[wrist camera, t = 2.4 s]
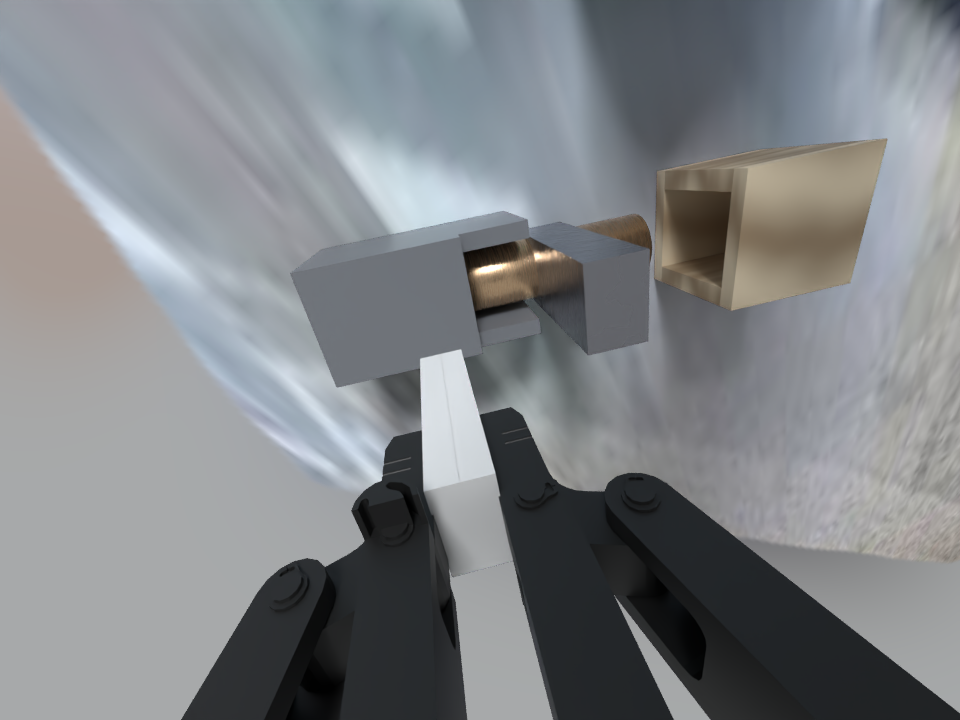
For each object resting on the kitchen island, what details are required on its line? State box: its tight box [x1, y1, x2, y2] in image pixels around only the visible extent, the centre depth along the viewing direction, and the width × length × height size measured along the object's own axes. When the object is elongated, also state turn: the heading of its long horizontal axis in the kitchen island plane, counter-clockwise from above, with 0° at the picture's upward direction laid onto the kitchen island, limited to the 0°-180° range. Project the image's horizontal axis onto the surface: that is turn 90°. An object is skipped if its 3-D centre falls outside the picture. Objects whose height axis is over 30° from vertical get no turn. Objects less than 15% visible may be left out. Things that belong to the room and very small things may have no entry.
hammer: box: [463, 214, 652, 355], centre depth 22 cm, size 4×18×12 cm, turn 101°
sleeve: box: [290, 211, 541, 387], centre depth 25 cm, size 7×13×8 cm, turn 101°
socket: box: [654, 139, 887, 311], centre depth 26 cm, size 8×8×8 cm
